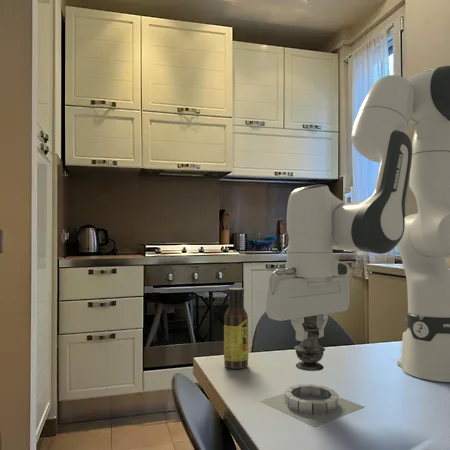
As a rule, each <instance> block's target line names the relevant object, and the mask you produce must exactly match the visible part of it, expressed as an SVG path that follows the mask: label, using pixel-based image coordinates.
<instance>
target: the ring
mask: <svg viewBox="0 0 450 450" xmlns="http://www.w3.org/2000/svg"><path fill="white" fill-rule="evenodd" d="M284 393H285V404H286V405H287V407H288V408H289V409H292V410H294V411H296V412H299V413H304V414H310V415H312V414H313V415H323V414H329V413H332V412H334V411H336V410H337V408H338V406H339V399H338V397H339V394H338V392H337V391H335V390H334V389H333V388H329V387H326V386H324V385H319V384H318V385H317V384H313V383H312V384H308V383H307V384H306V383H305V384H304V383H303V384H296V385H292V386H289V387H287V388H286V390H285V391H284ZM305 396H312V397H319V398H322V399H325V400H323V401H308V400H302V399H299V398H298V397H305Z"/></svg>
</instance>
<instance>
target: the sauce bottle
mask: <svg viewBox="0 0 450 450" xmlns="http://www.w3.org/2000/svg"><path fill="white" fill-rule="evenodd" d="M244 294H245V291H244V288H243V287H229V288H228V289H227V295H228V307H227V309H226V310H225V313H224V318H223V319H224V320H223V321H224V322H223V323H224V324H223V359H224V361H223V362H224V366H225V368H227V369H233V370H234V369H235V370H239V369H244V368H246V367H247V366H248V365H249V317H248V313H247V311H246V309H245V307H244Z"/></svg>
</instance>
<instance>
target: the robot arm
mask: <svg viewBox="0 0 450 450" xmlns="http://www.w3.org/2000/svg"><path fill="white" fill-rule="evenodd" d="M410 125H413V127H414V132H413V138H412V140H411V138H410V137H409V136H408V134H406V133H407V131H408V127H409V126H410ZM350 135H351V136H350V139H351V143H352V144H353V147H354V149H355V150H356V151H357V152H358V154H360V155H361V156H363V157H364V158H365V159H367V160H369V161H372V162H374V163H379V167H378V170H377V171H378V172H377V177H376V181H375V186H374V191H373V193H372V195H370V197H369V198H367V199H364V200H363V201H357V202H346V201H343V200H341V199H339V198H338V197H337V196H335V195H334V194H333V193H332V192H331V191H330V187H329V186H328V185H326V184H315V185H314V184H313V185H308V186H303V187H297V188H295V189H294V190H293V191H291V192H290V195H289V196H288V200H287V207H286V233H287V236H288V244H287V249H286V268H277V269H275V270H274V271H273V272H272V273H271V275H270V276H269V278H268V281H269V283H268V288H267V293H266V301H265V302H266V304H265V313H266V315H267V317H268V319H270V320H273V321H277V322H282V321H288V320H290V322H291V326H292V327H293V330H294V331H295V340H296V341H298V342H301V341H305V340H307V339H308V337H307V335H308V331H304V328H303V325H302V323H304V317H309V316H316V315H317V327H318V328H319V330H318V331H317V339H319V338H323V337H324V336H325V334H324V333H325V332H324V331H325V327H326V324H327V322H328V320H329V314H335V313H340V312H341V313H342V312H346V311H347V310H348V308H349V307H350V299H351V298H350V297H351V295H350V293H351V290H350V289H351V287H350V280H349V278H348V277H347V276H349V275H350V271H351V270H350V269H351V268H350V265H349V264H347V263H345V262H343V261H340V260H338V259H336V258H334V256H333V255H334V254H333V252H334V251H333V250H336V251H338V250H339V251H340V250H341V251H348V252H349V251H351V252H352V251H353V252H355V251H356V252H365V253H371V254H372V253H374V254H378V255H380V254H381V255H385V254H386V253H389V252H391V251H392V250H394V249H395V248H397V249H398V251H399V255H400V258H401V262H402V266H403V269H404V273H405V277H406V285H407V286H406V287H407V288H406V289H407V292H406V293H407V311H406V314H405V322H406V323H405V324H406V327H407V329H406V330H405V331H403V333H402V341H401V358H399V359H397V362H396V364H397V365H398V366H400V367H401V369H402V371H403V372H404V373H405V374H407V375H409V376H412V377H415V378H418V379H424V380H427V381H434V382H443V383H450V269H449V266H448V262H447V259H446V258H450V65H443V66H439V67H437V68H436V69H435V68H434V69H429V70H426V71H422V72H419V73H416V74H415V73H414V74H413V75H410V76H409V77H407V78H406V77H403V76H401V75H397V74H393V75H392V74H391V75H385V76H383V77H381V78H379V79H378V80H376V81H375V82H374V83H373V85H372V86H371V88H370V90H369V91H368V93H367V94H366V96H365V98H364V99H363V102H362V103H361V106H360V108H359V110H358V112H357V115H356V117H355V120H354V122H353V125H352V129H351V134H350ZM408 186H409V187H408ZM408 188H409V190H411V192H412V193H413V195H414V197H415V201H416V206H417V213H413V214H409V215H406V216H405V208H406V207H405V204H406V200H407V193H408Z"/></svg>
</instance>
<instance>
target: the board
mask: <svg viewBox="0 0 450 450" xmlns="http://www.w3.org/2000/svg"><path fill="white" fill-rule="evenodd" d="M298 398H299V399H302V400H308V401H323V400H325V399H322V398H319V397H312V396H305V397H298ZM338 399H339V406H338V408H337V410H336V411H334V412H332V413H329V414H323V415H313V414H312V415H310V414H304V413H299V412H296V411H294V410H292V409H289V408H288V407H287V405H286V404H285V392H284V393H281V394H278V395H275V396H272V397H269V398H265V399H262V400H260V403H263V404H266V405H267V406H269V407H270V408H271V407H272V408H274V409H275V410H278V411H279V412H282V413H283V414H286V415H288V416H290V417H292V418H294V419H296V420H299V421H300V422H303V423H305V424H307V425H308V426H311V427H313V428H316V427H319V426H322V425H324V424H326V423H329V422H331V421H333V420H336V419H338V418H342V417H344V416H345V415H349V414H351V413H354V412H356V411H359V410H362V409H363V408H365V406H364V405H361V404H358V403H357V402H352V401H351V400H348V399H344V398H342V397H340V396H338Z"/></svg>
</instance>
